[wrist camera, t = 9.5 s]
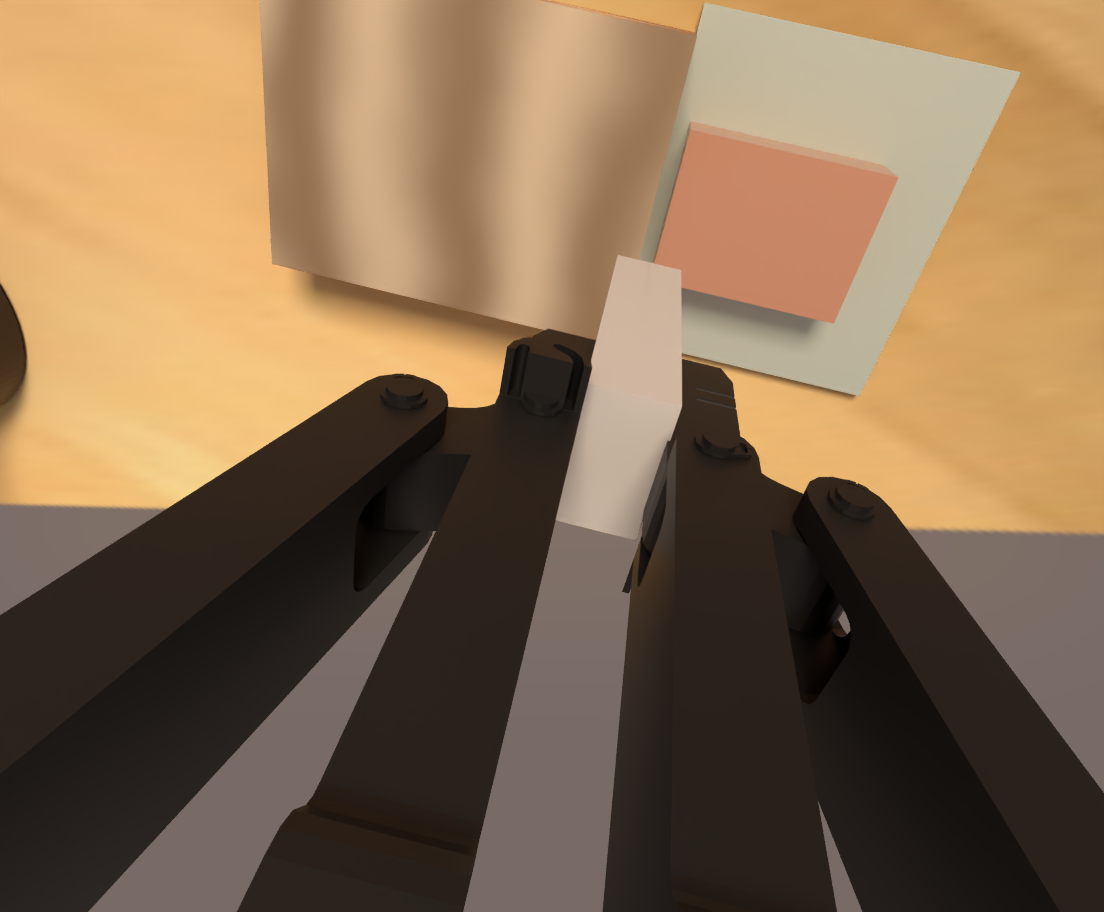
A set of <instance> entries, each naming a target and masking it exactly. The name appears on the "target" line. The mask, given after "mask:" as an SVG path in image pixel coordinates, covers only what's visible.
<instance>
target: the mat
mask: <svg viewBox="0 0 1104 912" xmlns="http://www.w3.org/2000/svg"><path fill="white" fill-rule="evenodd" d="M1020 73H1021V72H1017V71H1013V70H1008V69H1004V68H999V67H995V66H990V65H985V64H981V63H976V62H972V61H967V60H963V59H958V58H954V57H949V56H945V55H940V54H936V53H931V52H927V51H922V50H918V49H913V48H909V47H904V46H900V45H895V44H891V43H886V42H882V41H877V40H872V39H868V38H863V37H859V36H854V35H850V34H845V33H841V32H836V31H832V30H827V29H823V28H818V27H814V26H809V25H805V24H800V23H796V22H791V21H787V20H782V19H778V18H773V17H769V16H764V15H759V14H755V13H750V12H746V11H741V10H737V9H732V8H728V7H723V6H719V5H714V4H710V3H705V2H704V6H703V10H702V14H701V18H700V22H699V26H698V29H697V38H696V42H695V46H694V50H693V54H692V58H691V61H690V65H689V69H688V73H687V77H686V81H685V85H684V88H683V92H682V96H681V100H680V104H679V108H678V112H677V116H676V119H675V123H674V127H673V131H672V135H671V139H670V143H669V147H668V150H667V154H666V158H665V162H664V166H663V170H662V174H661V177H660V181H659V185H658V189H657V193H656V197H655V201H654V205H653V208H652V212H651V216H650V220H649V224H648V228H647V232H646V236H645V239H644V243H643V247H642V251H641V255H640V259H639V260H641V261H646V262H650V263H653V259H654V255H655V252H656V248H657V244H658V240H659V237H660V233H661V229H662V226H663V222H664V218H665V214H666V211H667V207H668V203H669V200H670V196H671V192H672V189H673V185H674V181H675V177H676V174H677V170H678V166H679V163H680V159H681V155H682V151H683V148H684V144H685V140H686V137H687V133H688V129H689V125H690V122H691V121H693V122H697V123H701V124H706V125H710V126H715V127H719V128H723V129H728V130H732V131H737V132H741V133H745V134H750V135H754V136H759V137H763V138H767V139H772V140H776V141H780V142H785V143H789V144H794V145H798V146H802V147H807V148H811V149H816V150H820V151H824V152H829V153H833V154H837V155H842V156H846V157H851V158H855V159H859V160H864V161H868V162H873V163H877V164H881V165H884V166H885V167H887V168H888V169H889V170H890V171H892V172H893V173H894V174H895V175H897V176H898V177H899V178H898V180H897V182H896V185H895V187H894V189H893V191H892V194H891V196H890V198H889V200H888V203H887V205H886V207H885V209H884V212H883V214H882V216H881V218H880V221H879V223H878V225H877V227H876V230H875V232H874V234H873V236H872V239H871V241H870V243H869V245H868V248H867V250H866V252H865V254H864V257H863V259H862V261H861V264H860V266H859V268H858V270H857V273H856V275H855V277H854V279H853V282H852V284H851V286H850V288H849V291H848V293H847V295H846V297H845V300H844V302H843V304H842V306H841V309H840V311H839V313H838V315H837V318H836V320H835V322H834V324H833V323H828V322H824V321H820V320H816V319H812V318H807V317H803V316H799V315H795V314H791V313H786V312H782V311H778V310H774V309H770V308H765V307H761V306H757V305H753V304H749V303H744V302H740V301H736V300H732V299H728V298H723V297H719V296H715V295H711V294H707V293H702V292H698V291H694V290H690V289H686V288H681V312H682V353H684V354H688V355H692V356H696V357H700V358H704V359H708V360H712V361H717V362H721V363H725V364H729V365H733V366H737V367H741V368H745V369H750V370H754V371H758V372H762V373H766V374H770V375H774V376H778V377H783V378H787V379H791V380H795V381H799V382H803V383H807V384H811V385H816V386H820V387H824V388H828V389H832V390H836V391H840V392H844V393H848V394H853V395H857V396H860V394H861V392H862V390H863V388H864V386H865V384H866V382H867V380H868V378H869V376H870V374H871V372H872V370H873V368H874V366H875V364H876V362H877V360H878V358H879V356H880V354H881V352H882V350H883V348H884V346H885V344H886V342H887V340H888V338H889V336H890V334H891V332H892V330H893V328H894V326H895V324H896V322H897V320H898V318H899V316H900V314H901V312H902V310H903V308H904V306H905V304H906V302H907V300H908V298H909V296H910V294H911V292H912V290H913V288H914V286H915V284H916V282H917V280H918V278H919V276H920V274H921V272H922V270H923V268H924V266H925V264H926V262H927V260H928V258H929V256H930V254H931V252H932V250H933V248H934V246H935V244H936V242H937V240H938V238H939V236H940V234H941V232H942V230H943V228H944V226H945V224H946V222H947V220H948V218H949V216H950V214H951V212H952V210H953V208H954V206H955V204H956V201H957V199H958V197H959V195H960V193H961V191H962V189H963V187H964V185H965V183H966V181H967V179H968V177H969V175H970V173H971V171H972V169H973V167H974V165H975V163H976V161H977V159H978V157H979V155H980V153H981V151H982V149H983V147H984V145H985V143H986V141H987V139H988V137H989V135H990V133H991V131H992V129H993V127H994V125H995V123H996V121H997V119H998V117H999V115H1000V113H1001V111H1002V109H1003V107H1004V105H1005V103H1006V101H1007V99H1008V97H1009V95H1010V93H1011V91H1012V89H1013V87H1014V85H1015V83H1016V81H1017V79H1018V77H1019V75H1020Z"/></svg>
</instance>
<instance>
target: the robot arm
mask: <svg viewBox="0 0 1104 912" xmlns="http://www.w3.org/2000/svg"><path fill="white" fill-rule="evenodd" d="M23 370H24V349H23V342H22V338H21V333H20V330H19V327H18V323H17V321H16V318H15V315H14V313H13V311H12V308H11V306H10V304H9V302H8V300H7V298H6V296H5V294H4V293H3V291H2V289H1V287H0V406H2V405H3V404H5V403H6V402H7V401H8V400H10V399H11V397H12V396H13V395H14V394H15V392H16V391H17V389H18V387H19V385H20V382H21V379H22V375H23ZM735 408H736V403H735V399H734V389H733V383H732V381H731V380H730V379H729V378H728V377H727V375H726V374H725V373H724V372H723V371H722V369H721V368H717V367H713V366H709V365H704V364H700V363H696V362H692V361H688V360H684V359H682V312H681V270H679V269H675V268H671V267H666V266H662V265H658V264H654V263H650V262H646V261H641V260H637V259H633V258H629V257H625V256H621V255H618V256H617V260H616V264H615V268H614V272H613V276H612V280H611V284H610V288H609V292H608V296H607V300H606V304H605V308H604V312H603V316H602V319H601V323H600V327H599V331H598V335H597V339H596V340H594V339H590V338H585V337H581V336H577V335H573V334H569V333H565V332H561V331H557V330H553V329H549V328H548V329H546V330H544V331H542V332H541V333H539V334H537V335H535V336H533V338H523V339H520V340H516V341H513V342H512V343H511V344H510V345H509V346H508V347H507V352H506V358H505V364H504V370H503V376H502V382H501V388H500V394H499V396H498V398H497V400H496V402H495V404H493V405H490V406H486V407H480V408H456V407H448V398H447V394H446V393H445V392H444V391H443V390H442V388H441V387H440V386H438V385H436V384H435V383H433V382H431V381H429V380H427V379H423V378H420V377H416V376H414V375H409V374H406V375H404V374H392V375H384V376H378V377H376V378H373V379H371V380H369V381H366V382H365V383H363V384H362V385H360V386H358V387H357V388H355V389H354V390H352V391H351V392H349V393H348V394H346V395H344V396H343V397H341V398H340V399H338V400H337V401H335V402H333V403H332V404H330V405H329V406H327V407H326V408H324V409H322V410H321V411H319V412H318V413H316V414H315V415H313V416H312V417H310V418H308V419H307V420H305V421H304V422H302V423H301V424H299V425H297V426H296V427H294V428H293V429H291V430H290V431H288V432H286V433H285V434H283V435H282V436H280V437H279V438H277V439H275V440H274V441H272V442H271V443H269V444H268V445H266V446H265V447H263V448H261V449H260V450H258V451H257V452H255V453H254V454H252V455H250V456H249V457H247V458H246V459H244V460H243V461H241V462H239V463H238V464H236V465H235V466H233V467H232V468H230V469H229V470H227V471H225V472H224V473H222V474H221V475H219V476H218V477H216V478H214V479H213V480H211V481H210V482H208V483H207V484H205V485H203V486H202V487H200V488H199V489H197V490H196V491H194V492H192V493H191V494H189V495H188V496H186V497H185V498H183V499H182V500H180V501H178V502H177V503H175V504H174V505H172V506H171V507H169V508H167V509H166V510H164V511H163V512H161V513H160V514H158V515H157V516H155V517H153V518H152V519H150V520H149V521H147V522H146V523H144V524H142V525H141V526H139V527H138V528H136V529H135V530H133V531H131V532H130V533H129V534H127V535H125V536H124V537H122V538H120V539H119V540H117V541H116V542H114V543H113V544H111V545H109V546H108V547H106V548H105V549H103V550H102V551H100V552H99V553H97V554H95V555H94V556H92V557H91V558H89V559H88V560H86V561H85V562H83V563H81V564H80V565H79V566H77V567H75V568H73V569H72V570H70V571H69V572H67V573H66V574H64V575H63V576H61V577H59V578H58V579H56V580H55V581H53V582H52V583H50V584H49V585H47V586H45V587H44V588H42V589H41V590H39V591H38V592H36V593H34V594H33V595H31V596H30V597H28V598H26V599H25V600H23V601H22V602H20V603H19V604H17V605H16V606H14V607H12V608H11V609H9V610H8V611H7V612H5V613H3V614H1V615H0V912H88V911H89V910H90V909H91V908H92V907H93V906H94V904H96V902H97V901H98V900H99V899H100V898H101V897H102V896H103V895H104V894H105V893H106V891H107V890H108V889H109V888H110V887H111V886H112V885H113V884H114V883H115V882H116V881H117V879H119V877H120V876H121V875H122V874H123V873H124V872H125V871H126V870H127V869H128V868H129V867H130V865H131V864H132V863H133V862H134V861H135V860H136V859H137V858H138V857H139V856H140V855H141V854H142V853H143V851H144V850H145V849H146V848H147V847H148V846H149V845H150V844H151V843H152V842H153V841H154V839H155V838H156V837H157V836H158V835H159V834H160V833H161V832H162V831H163V830H164V829H165V828H166V826H167V825H168V824H169V823H170V822H171V821H172V820H173V819H174V818H175V817H176V816H177V815H178V813H179V812H180V811H181V810H182V809H183V808H184V807H185V806H186V805H187V804H188V803H189V802H190V800H191V799H192V798H193V797H194V796H195V795H196V794H197V793H198V792H199V791H200V790H201V789H202V787H203V786H204V785H205V784H206V783H207V782H208V781H209V780H210V779H211V778H212V777H213V775H214V774H215V773H216V772H217V771H218V770H219V769H220V768H221V767H222V766H223V765H224V764H225V762H226V761H227V760H228V759H229V758H230V757H231V756H232V755H233V754H234V753H235V752H236V751H237V749H238V748H239V747H240V746H241V745H242V744H243V743H244V742H245V741H246V740H247V738H248V737H249V736H250V735H251V734H252V733H253V732H254V731H255V730H256V729H257V728H258V727H259V726H260V724H261V723H262V722H263V721H264V720H265V719H266V718H267V717H268V716H269V715H270V714H271V713H272V711H273V710H274V709H275V708H276V707H277V706H278V705H279V704H280V703H281V702H282V701H283V700H284V698H285V697H286V696H287V695H288V694H289V693H290V692H291V691H292V690H293V689H294V688H295V686H296V685H297V684H298V683H299V682H300V681H301V680H302V679H303V678H304V677H305V676H306V675H307V673H308V672H309V671H310V670H311V669H312V668H313V667H314V666H315V665H316V663H318V662H319V660H320V659H321V658H322V657H323V656H324V655H325V654H326V653H327V652H328V651H329V650H330V649H331V647H332V646H333V645H334V644H335V643H336V642H337V641H338V640H339V639H340V638H341V636H342V635H343V634H344V633H345V632H346V631H347V630H348V629H349V628H350V627H351V626H352V625H353V624H354V622H355V621H356V620H357V619H358V618H359V617H360V616H361V615H362V614H363V613H364V612H365V610H366V609H367V608H368V607H369V606H370V605H371V604H372V603H373V602H374V601H375V599H376V598H377V597H378V596H379V595H380V594H381V593H382V592H383V591H384V590H385V589H386V588H387V587H388V586H389V584H390V583H391V582H392V581H393V580H394V579H395V578H396V577H397V576H398V575H399V574H400V573H401V571H402V570H403V569H404V568H405V567H406V566H407V565H408V564H409V563H410V562H411V561H412V559H413V558H414V557H415V556H416V555H417V554H418V553H419V552H420V551H421V550H422V548H424V546H425V545H426V544H427V543H428V541H429V539H430V537H431V536H432V532H433V531H436V533H435V535H434V537H433V539H432V541H431V543H430V545H429V547H428V550H427V552H426V554H425V556H424V558H423V560H422V563H421V565H420V567H419V569H418V571H417V573H416V576H415V578H414V580H413V582H412V585H411V586H410V589H409V591H408V593H407V595H406V597H405V600H404V602H403V604H402V606H401V608H400V610H399V613H398V615H397V617H396V619H395V621H394V623H393V625H392V627H391V630H390V632H389V634H388V636H387V638H386V641H385V643H384V645H383V647H382V649H381V651H380V653H379V656H378V658H377V660H376V662H375V664H374V667H373V669H372V671H371V673H370V675H369V677H368V680H367V682H366V684H365V686H364V688H363V690H362V692H361V695H360V697H359V699H358V701H357V704H356V706H355V708H354V710H353V712H352V714H351V716H350V718H349V720H348V723H347V725H346V727H345V729H344V731H343V733H342V736H341V738H340V740H339V742H338V744H337V747H336V749H335V751H334V753H333V755H332V757H331V759H330V762H329V764H328V766H327V768H326V770H325V773H324V775H323V777H322V779H321V781H320V783H319V785H318V787H317V789H316V791H315V793H314V795H313V797H312V798H311V799H310V800H309V802H308V803H307V805H305V806H302V807H300V808H297V809H294V810H293V811H292V812H291V813H290V815H289V816H288V817H287V818H286V820H285V821H284V823H283V824H282V825H281V826H280V828H279V830H278V832H277V834H276V835H275V837H274V839H273V841H272V843H271V844H270V846H269V848H268V850H267V852H266V853H265V855H264V857H263V859H262V862H261V864H260V866H259V868H258V870H257V872H256V874H255V876H254V878H253V880H252V882H251V884H250V886H249V888H248V890H247V892H246V894H245V896H244V898H243V901H242V902H241V905H240V907H239V909H238V911H237V912H463V910H464V906H465V901H466V897H467V893H468V888H469V884H470V880H471V876H472V871H473V867H474V862H475V858H476V853H477V848H478V844H479V839H480V835H481V831H482V826H483V822H484V818H485V814H486V810H487V805H488V801H489V797H490V793H491V789H492V785H493V780H494V776H495V772H496V768H497V763H498V759H499V755H500V751H501V747H502V743H503V738H504V734H505V730H506V726H507V722H508V717H509V713H510V709H511V705H512V701H513V696H514V692H515V688H516V684H517V680H518V675H519V671H520V667H521V663H522V659H523V654H524V650H525V646H526V641H527V637H528V633H529V629H530V625H531V621H532V617H533V613H534V608H535V604H536V600H537V596H538V591H539V587H540V583H541V579H542V575H543V571H544V566H545V562H546V558H547V554H548V550H549V545H550V541H551V537H552V533H553V528H554V524H555V520H556V521H560V522H564V523H569V524H572V525H576V526H580V527H584V528H588V529H592V530H596V531H600V532H604V533H608V534H612V535H616V536H620V537H624V538H628V539H632V540H636V539H637V535H638V533H639V530H640V527H641V524H642V521H643V527H642V537H641V540H640V542H639V545H638V548H637V551H636V554H635V557H634V560H633V563H632V565H631V568H630V571H629V574H628V577H627V580H626V583H625V586H624V588H623V591H622V592H625V593H629V592H630V589H631V595H630V608H629V618H628V629H627V640H626V652H625V665H624V674H623V675H624V676H623V686H622V697H621V709H620V721H619V731H618V744H617V754H616V767H615V778H614V789H613V800H612V812H611V823H610V835H609V845H608V846H609V847H608V857H607V868H606V880H605V891H604V902H603V912H837V909H836V904H835V898H834V892H833V886H832V881H831V874H830V870H829V863H828V857H827V851H826V845H825V840H824V834H823V828H822V822H821V816H820V810H819V805H818V801H819V804H820V806H821V809H822V811H823V814H824V816H825V819H826V821H827V824H828V826H829V829H830V831H831V834H832V836H833V839H834V841H835V844H836V846H837V849H838V851H839V854H840V857H841V859H842V862H843V864H844V867H845V869H846V871H847V874H848V876H849V879H850V881H851V884H852V886H853V889H854V892H855V894H856V896H857V899H858V901H859V904H860V906H861V909H862V912H1104V793H1103V791H1102V790H1101V789H1100V787H1099V786H1098V785H1097V783H1096V782H1095V780H1094V779H1093V778H1092V776H1091V775H1090V774H1089V772H1088V771H1087V770H1086V769H1085V767H1084V766H1083V764H1082V763H1081V762H1080V760H1079V759H1078V758H1077V756H1076V755H1075V754H1074V752H1073V751H1072V750H1071V748H1070V747H1069V746H1068V744H1067V743H1066V742H1065V740H1064V739H1063V738H1062V736H1061V735H1060V734H1059V732H1058V731H1057V730H1056V728H1055V727H1054V726H1053V724H1052V723H1051V722H1050V720H1049V719H1048V718H1047V716H1046V715H1045V714H1044V712H1043V711H1042V710H1041V708H1040V707H1039V706H1038V704H1037V703H1036V702H1035V700H1034V699H1033V698H1032V696H1031V695H1030V693H1029V692H1028V691H1027V689H1026V688H1025V687H1024V686H1023V684H1022V683H1021V682H1020V680H1019V679H1018V677H1017V676H1016V675H1015V674H1014V672H1013V671H1012V669H1011V668H1010V667H1009V665H1008V664H1007V663H1006V662H1005V660H1004V659H1003V658H1002V656H1001V655H1000V653H999V652H998V651H997V649H996V648H995V647H994V645H993V644H992V643H991V641H990V640H989V639H988V637H987V636H986V635H985V634H984V632H983V631H982V629H981V628H980V627H979V626H978V624H977V623H976V621H975V620H974V619H973V617H972V616H971V615H970V613H969V612H968V611H967V609H966V608H965V607H964V605H963V604H962V602H961V601H960V600H959V599H958V597H957V596H956V594H955V593H954V592H953V591H952V589H951V588H950V586H949V585H948V584H947V582H946V581H945V580H944V578H943V577H942V576H941V574H940V573H939V572H938V570H937V569H936V568H935V566H934V565H933V564H932V562H931V561H930V560H929V558H928V557H927V556H926V554H925V553H924V552H923V550H922V549H921V548H920V546H919V545H918V544H917V542H916V541H915V540H914V538H913V537H912V536H911V534H910V533H909V532H908V530H907V529H906V528H905V526H904V525H903V524H902V522H901V521H900V520H899V518H898V517H897V515H896V514H895V513H894V511H893V510H892V509H891V508H890V507H889V506H888V505H887V504H886V503H885V502H884V501H883V500H882V499H881V498H880V497H879V496H877V495H876V494H874V493H873V492H871V491H870V490H869V489H868V488H866V487H865V486H863V485H861V484H856V482H853V481H850V480H844V479H839V478H835V477H818V478H816V479H814V480H812V481H810V482H809V484H808V486H807V488H806V490H805V492H804V494H802V493H800V492H798V491H795V490H793V489H791V488H789V487H786V486H784V485H782V484H780V483H778V482H776V481H774V480H772V479H770V478H768V477H766V476H765V475H764V474H762V473H761V467H760V462H759V457H758V455H757V453H756V451H755V449H754V447H753V446H752V445H750V444H749V443H748V442H747V441H746V440H745V439H744V438H742V437H740V431H739V424H738V417H737V410H736V409H735ZM843 611H845V613H846V615H847V618H848V620H849V623H850V630H851V631H850V632H849V633H848V634H846V632H845V631H844V630H843V628H842V626H841V624H840V622H839V621H838V619H839V617H840V616H841V614H842V612H843Z"/></svg>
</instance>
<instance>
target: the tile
mask: <svg viewBox="0 0 1104 912" xmlns="http://www.w3.org/2000/svg"><path fill="white" fill-rule="evenodd" d="M898 178H899V177H898V176H897V175H895V174H894V173H893V172H892V171H890V170H889V169H888V168H887V167H885V166H884V165H881V164H877V163H873V162H868V161H864V160H859V159H855V158H851V157H846V156H842V155H837V154H833V153H829V152H824V151H820V150H816V149H811V148H807V147H802V146H798V145H794V144H789V143H785V142H780V141H776V140H772V139H767V138H763V137H759V136H754V135H750V134H745V133H741V132H737V131H732V130H728V129H723V128H719V127H715V126H710V125H706V124H701V123H697V122H693V121H691V122H690V125H689V129H688V133H687V137H686V140H685V144H684V148H683V151H682V155H681V159H680V163H679V166H678V170H677V174H676V177H675V181H674V185H673V189H672V192H671V196H670V200H669V203H668V207H667V211H666V214H665V218H664V222H663V226H662V229H661V233H660V237H659V240H658V244H657V248H656V252H655V255H654V259H653V263H654V264H658V265H662V266H666V267H671V268H675V269H679V270H681V288H686V289H690V290H694V291H698V292H702V293H707V294H711V295H715V296H719V297H723V298H728V299H732V300H736V301H740V302H744V303H749V304H753V305H757V306H761V307H765V308H770V309H774V310H778V311H782V312H786V313H791V314H795V315H799V316H803V317H807V318H812V319H816V320H820V321H824V322H828V323H833V324H834V322H835V320H836V318H837V315H838V313H839V311H840V309H841V306H842V304H843V302H844V300H845V297H846V295H847V293H848V291H849V288H850V286H851V284H852V282H853V279H854V277H855V275H856V273H857V270H858V268H859V266H860V264H861V261H862V259H863V257H864V254H865V252H866V250H867V248H868V245H869V243H870V241H871V239H872V236H873V234H874V232H875V230H876V227H877V225H878V223H879V221H880V218H881V216H882V214H883V212H884V209H885V207H886V205H887V203H888V200H889V198H890V196H891V194H892V191H893V189H894V187H895V185H896V182H897V180H898Z"/></svg>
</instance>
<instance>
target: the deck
mask: <svg viewBox="0 0 1104 912" xmlns="http://www.w3.org/2000/svg"><path fill="white" fill-rule="evenodd" d="M260 21H261V42H262V63H263V84H264V104H265V125H266V146H267V167H268V188H269V209H270V230H271V250H272V264H275V265H279V266H283V267H287V268H291V269H295V270H299V271H304V272H308V273H312V274H316V275H320V276H324V277H328V278H332V279H336V280H341V281H345V282H349V283H353V284H357V285H361V286H365V287H369V288H373V289H378V290H382V291H386V292H390V293H394V294H398V295H402V296H406V297H410V298H415V299H419V300H423V301H427V302H431V303H435V304H439V305H443V306H447V307H452V308H456V309H460V310H464V311H468V312H472V313H476V314H480V315H484V316H489V317H493V318H497V319H501V320H505V321H509V322H513V323H517V324H521V325H526V326H530V327H534V328H538V329H542V330H546V329H548V328H549V329H553V330H557V331H561V332H565V333H569V334H573V335H577V336H581V337H585V338H590V339H594V340H596V339H597V335H598V331H599V327H600V323H601V319H602V316H603V312H604V308H605V304H606V300H607V296H608V292H609V288H610V284H611V280H612V276H613V272H614V268H615V264H616V260H617V256H618V255H621V256H625V257H629V258H633V259H637V260H639V259H640V255H641V251H642V247H643V243H644V239H645V236H646V232H647V228H648V224H649V220H650V216H651V212H652V208H653V205H654V201H655V197H656V193H657V189H658V185H659V181H660V177H661V174H662V170H663V166H664V162H665V158H666V154H667V150H668V147H669V143H670V139H671V135H672V131H673V127H674V123H675V119H676V116H677V112H678V108H679V104H680V100H681V96H682V92H683V88H684V85H685V81H686V77H687V73H688V69H689V65H690V61H691V58H692V54H693V50H694V46H695V42H696V38H697V33H694V32H690V31H685V30H681V29H676V28H672V27H667V26H663V25H658V24H654V23H649V22H645V21H640V20H636V19H632V18H627V17H623V16H618V15H614V14H609V13H605V12H600V11H596V10H591V9H587V8H582V7H578V6H573V5H569V4H564V3H560V2H555V1H551V0H260Z"/></svg>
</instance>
